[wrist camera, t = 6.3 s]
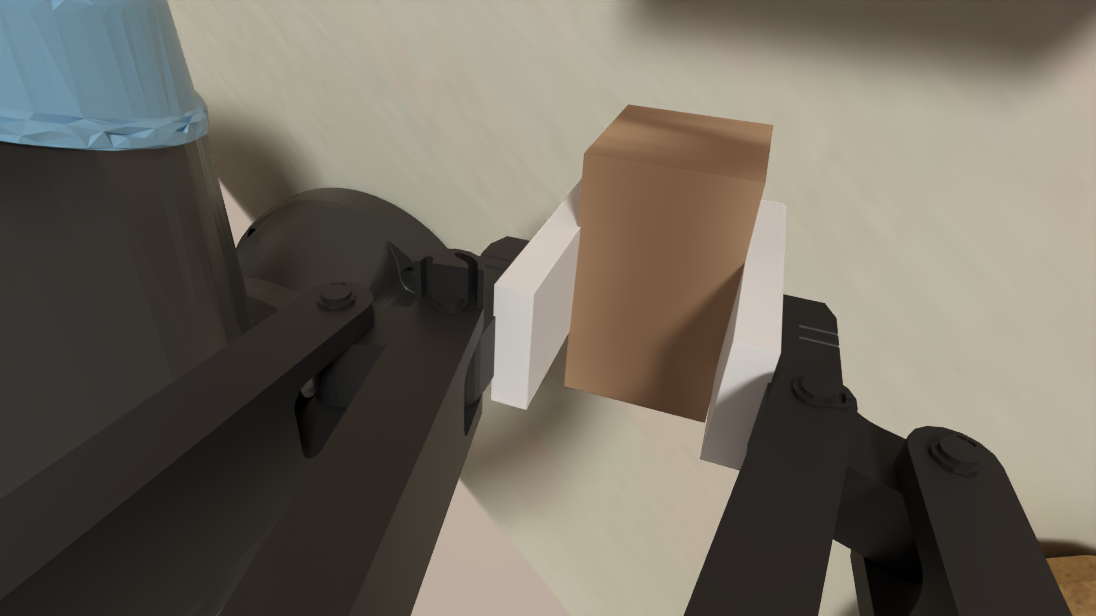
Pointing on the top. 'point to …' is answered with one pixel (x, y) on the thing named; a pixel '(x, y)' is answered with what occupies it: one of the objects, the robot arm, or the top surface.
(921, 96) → the top surface
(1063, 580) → the potato
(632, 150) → the block
